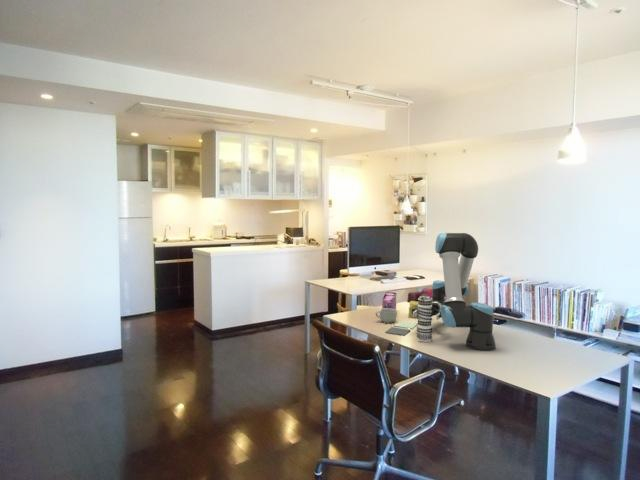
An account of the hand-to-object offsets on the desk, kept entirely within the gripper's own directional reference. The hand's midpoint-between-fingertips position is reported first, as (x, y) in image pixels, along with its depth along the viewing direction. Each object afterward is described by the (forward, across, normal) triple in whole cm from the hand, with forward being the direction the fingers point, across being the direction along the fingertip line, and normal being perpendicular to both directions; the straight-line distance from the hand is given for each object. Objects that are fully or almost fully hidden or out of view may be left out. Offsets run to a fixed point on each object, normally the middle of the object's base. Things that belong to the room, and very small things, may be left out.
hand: (425, 316), depth 247 cm
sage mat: (-20, +18, -13) cm, 30 cm away
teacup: (-22, +32, -13) cm, 41 cm away
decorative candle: (+3, 0, -13) cm, 13 cm away
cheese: (-45, +18, -13) cm, 50 cm away
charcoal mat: (-4, +18, -13) cm, 22 cm away
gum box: (-43, +37, -13) cm, 58 cm away
